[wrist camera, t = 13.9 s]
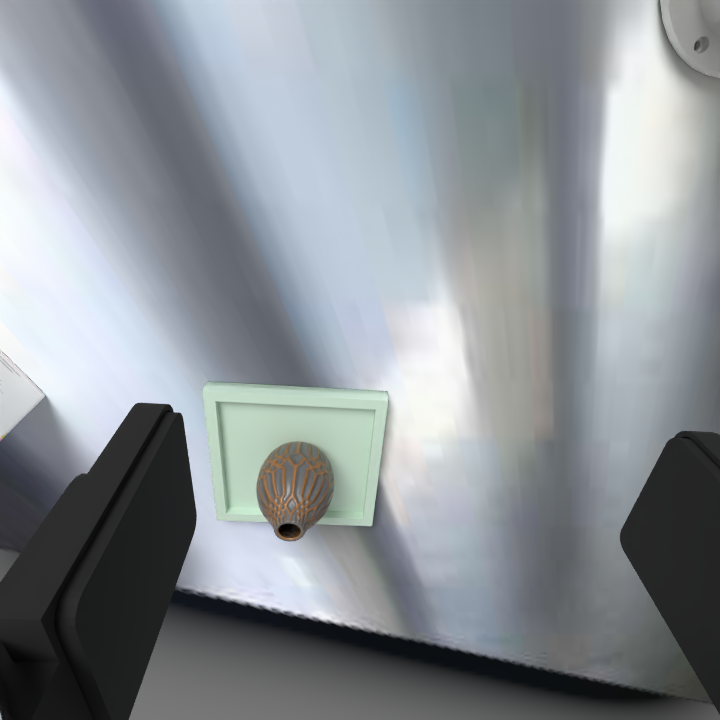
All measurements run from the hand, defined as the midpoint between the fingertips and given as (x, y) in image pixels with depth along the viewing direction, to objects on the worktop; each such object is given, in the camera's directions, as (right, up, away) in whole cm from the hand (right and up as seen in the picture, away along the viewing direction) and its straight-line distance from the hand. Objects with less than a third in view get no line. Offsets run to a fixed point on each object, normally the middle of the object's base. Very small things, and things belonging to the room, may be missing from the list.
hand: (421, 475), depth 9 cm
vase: (-7, -7, +36) cm, 38 cm away
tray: (-7, -7, +37) cm, 38 cm away
